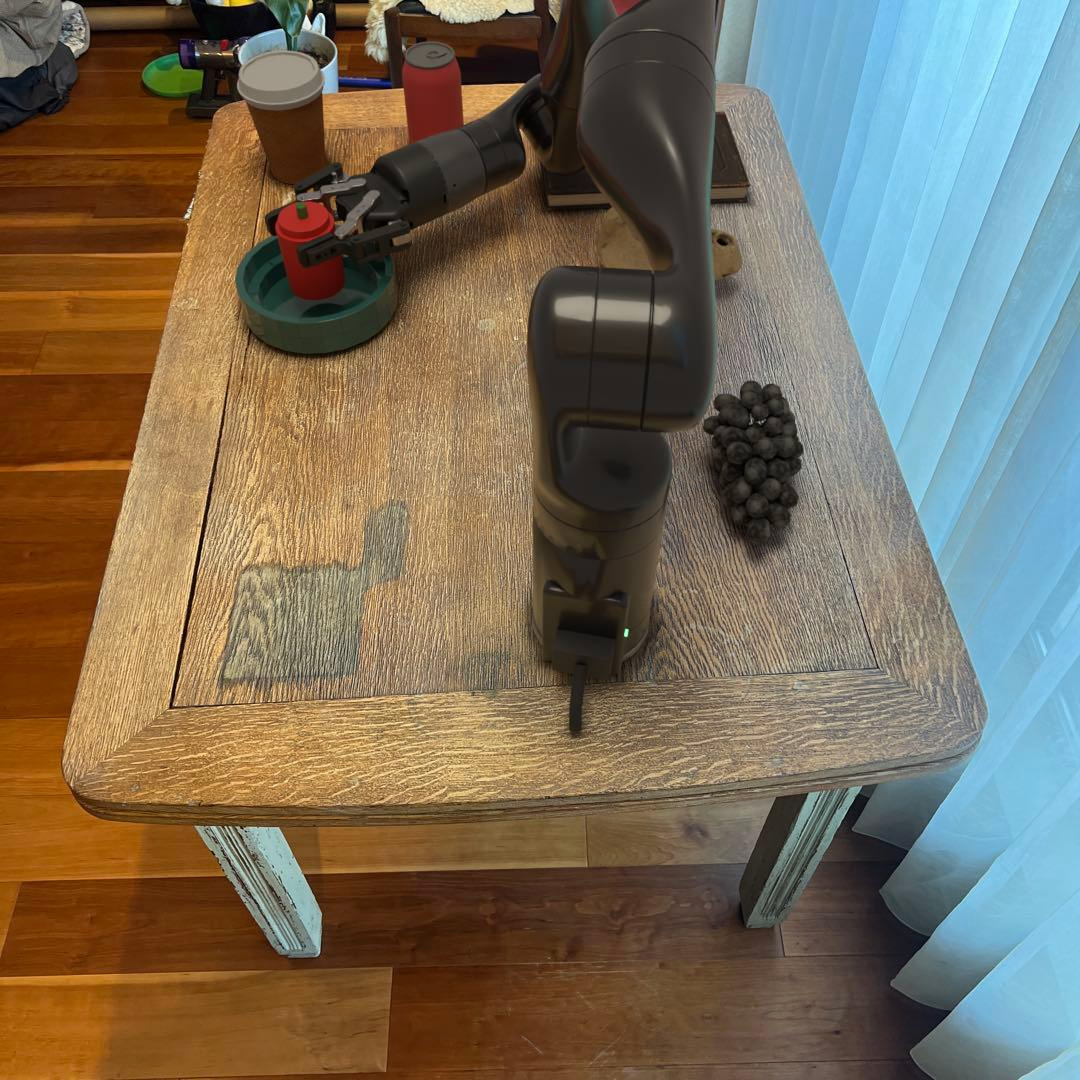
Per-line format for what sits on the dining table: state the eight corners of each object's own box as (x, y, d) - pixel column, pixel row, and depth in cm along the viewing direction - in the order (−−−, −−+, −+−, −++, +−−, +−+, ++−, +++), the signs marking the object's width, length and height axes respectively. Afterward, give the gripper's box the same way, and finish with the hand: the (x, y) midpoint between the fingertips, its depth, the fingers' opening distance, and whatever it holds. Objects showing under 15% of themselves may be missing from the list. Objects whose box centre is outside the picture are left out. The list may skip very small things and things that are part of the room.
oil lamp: (742, 311, 105) (756, 247, 99) (597, 313, 105) (601, 248, 98) (728, 246, 112) (740, 181, 105) (591, 247, 111) (595, 182, 105)
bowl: (371, 368, 100) (365, 333, 96) (221, 345, 102) (210, 310, 98) (416, 270, 109) (412, 234, 105) (278, 250, 111) (269, 215, 107)
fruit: (801, 494, 78) (792, 357, 87) (694, 508, 81) (696, 373, 89) (814, 559, 85) (805, 425, 93) (715, 569, 87) (714, 438, 96)
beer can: (472, 160, 122) (467, 61, 112) (420, 172, 120) (410, 73, 111) (455, 132, 125) (448, 34, 116) (403, 143, 124) (392, 44, 114)
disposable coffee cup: (327, 196, 117) (308, 96, 108) (247, 188, 118) (221, 89, 108) (349, 150, 123) (333, 51, 113) (273, 143, 124) (251, 45, 114)
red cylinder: (314, 308, 101) (296, 230, 93) (278, 283, 103) (258, 206, 96) (357, 281, 103) (343, 203, 96) (320, 258, 105) (304, 180, 98)
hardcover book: (747, 202, 117) (750, 184, 115) (546, 211, 115) (546, 193, 114) (721, 126, 126) (724, 108, 124) (536, 133, 125) (536, 115, 123)
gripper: (387, 114, 104) (238, 172, 98) (469, 178, 97) (314, 246, 91) (395, 179, 110) (255, 238, 104) (473, 244, 103) (328, 312, 97)
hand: (284, 242), depth 97 cm, fingers closed on red cylinder, 5 cm apart
